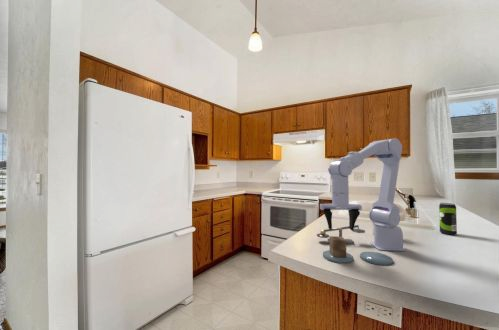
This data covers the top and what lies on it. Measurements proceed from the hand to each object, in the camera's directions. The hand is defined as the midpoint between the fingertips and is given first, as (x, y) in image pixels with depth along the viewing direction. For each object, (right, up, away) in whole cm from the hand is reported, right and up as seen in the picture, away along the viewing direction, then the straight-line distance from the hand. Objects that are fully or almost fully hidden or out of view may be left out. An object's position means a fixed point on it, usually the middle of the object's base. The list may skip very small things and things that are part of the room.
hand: (340, 229), depth 81 cm
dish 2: (+10, -9, -5) cm, 15 cm away
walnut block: (-2, -8, -3) cm, 9 cm away
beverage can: (+64, -10, +26) cm, 70 cm away
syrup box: (+29, -10, +22) cm, 38 cm away
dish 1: (-3, -9, -3) cm, 10 cm away
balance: (+5, -10, +13) cm, 17 cm away
